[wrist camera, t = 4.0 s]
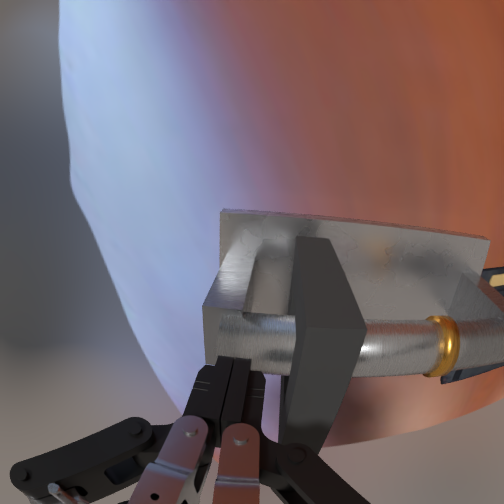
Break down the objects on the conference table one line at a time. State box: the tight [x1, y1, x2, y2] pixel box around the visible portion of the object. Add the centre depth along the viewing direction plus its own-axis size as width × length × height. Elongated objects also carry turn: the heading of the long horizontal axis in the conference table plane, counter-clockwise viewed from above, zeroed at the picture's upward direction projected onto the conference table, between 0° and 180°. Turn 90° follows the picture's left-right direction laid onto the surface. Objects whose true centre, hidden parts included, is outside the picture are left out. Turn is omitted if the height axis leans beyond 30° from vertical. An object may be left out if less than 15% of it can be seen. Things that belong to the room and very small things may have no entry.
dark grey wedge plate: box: [278, 236, 368, 455], centre depth 14 cm, size 2×9×9 cm, turn 177°
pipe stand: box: [202, 208, 504, 377], centre depth 17 cm, size 22×10×10 cm, turn 87°
